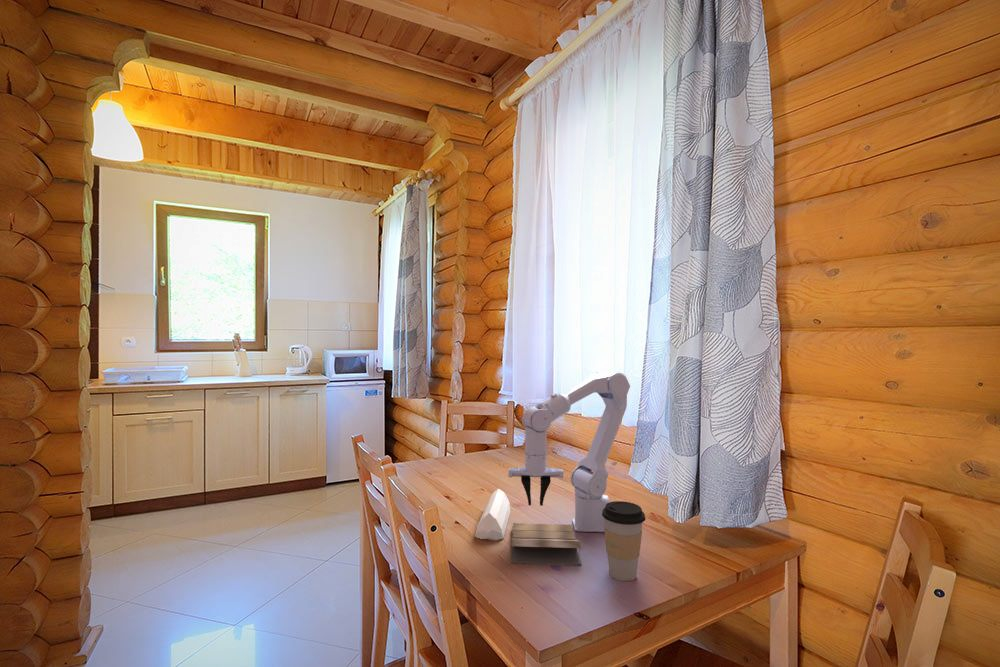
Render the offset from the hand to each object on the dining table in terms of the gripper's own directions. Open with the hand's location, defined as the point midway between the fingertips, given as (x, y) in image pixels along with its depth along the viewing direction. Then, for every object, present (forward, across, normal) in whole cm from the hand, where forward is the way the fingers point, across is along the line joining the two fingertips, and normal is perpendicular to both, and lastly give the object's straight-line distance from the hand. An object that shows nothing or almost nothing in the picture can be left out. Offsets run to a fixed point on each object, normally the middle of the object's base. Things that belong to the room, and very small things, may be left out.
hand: (535, 504), depth 123 cm
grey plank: (+6, -2, +11) cm, 13 cm away
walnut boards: (+8, -2, +1) cm, 8 cm away
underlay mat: (+8, -2, +5) cm, 10 cm away
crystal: (+9, +11, -7) cm, 16 cm away
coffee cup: (+9, -19, +19) cm, 28 cm away
